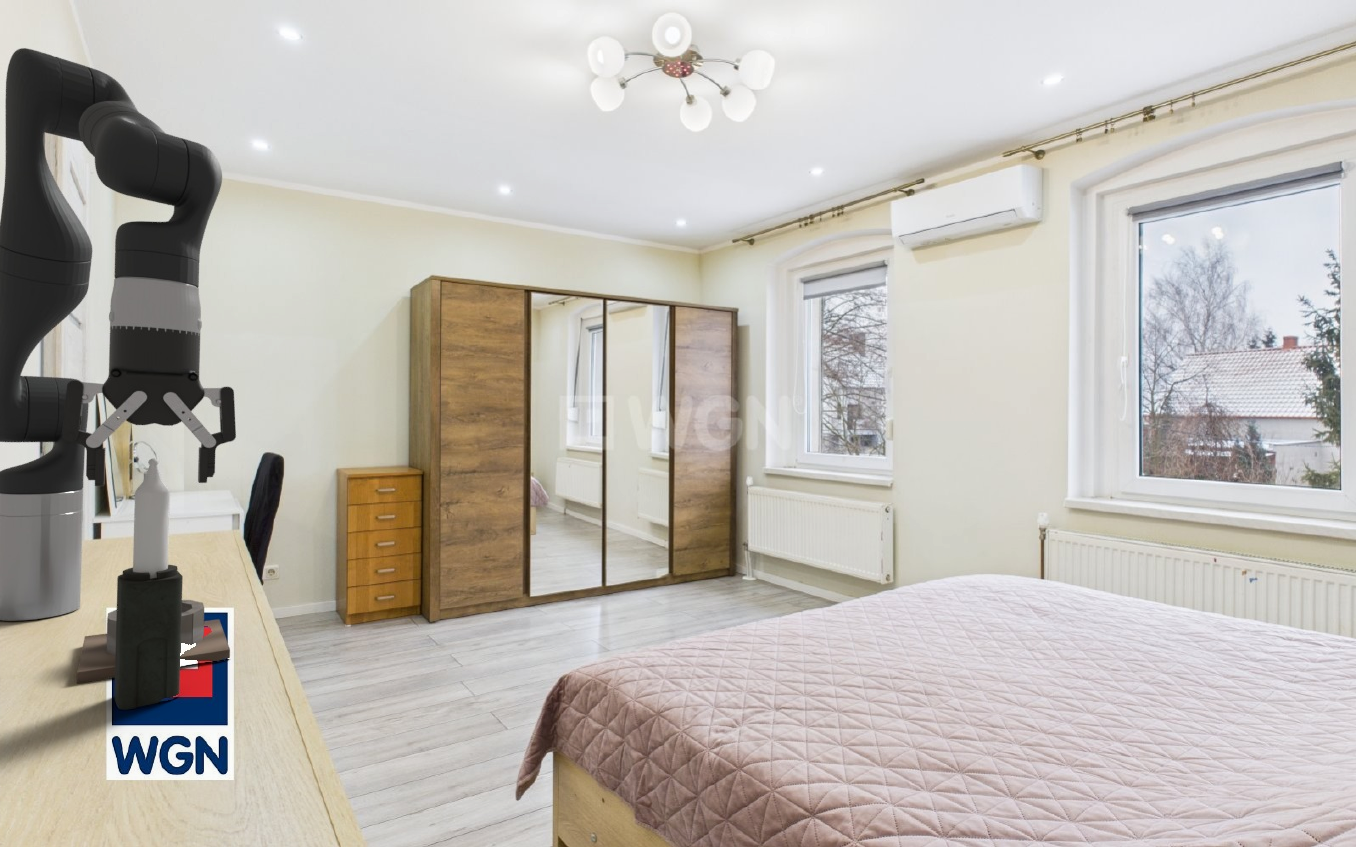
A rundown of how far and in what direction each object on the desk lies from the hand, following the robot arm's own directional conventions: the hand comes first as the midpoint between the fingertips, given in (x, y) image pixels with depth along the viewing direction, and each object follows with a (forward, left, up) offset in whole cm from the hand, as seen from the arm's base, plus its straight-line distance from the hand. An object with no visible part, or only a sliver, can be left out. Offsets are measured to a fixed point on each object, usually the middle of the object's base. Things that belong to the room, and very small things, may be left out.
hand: (152, 483), depth 73 cm
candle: (0, 0, -23) cm, 23 cm away
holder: (-15, +1, -22) cm, 27 cm away
